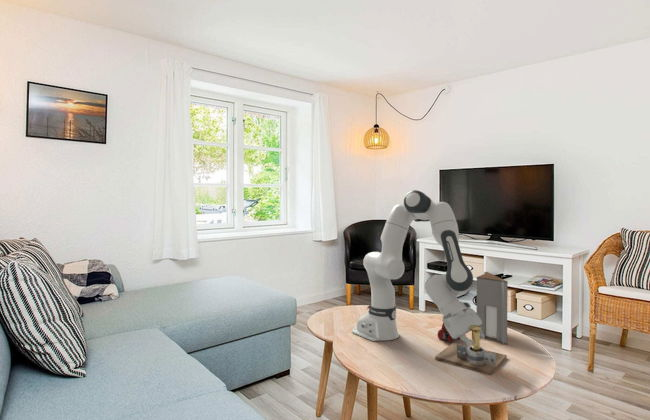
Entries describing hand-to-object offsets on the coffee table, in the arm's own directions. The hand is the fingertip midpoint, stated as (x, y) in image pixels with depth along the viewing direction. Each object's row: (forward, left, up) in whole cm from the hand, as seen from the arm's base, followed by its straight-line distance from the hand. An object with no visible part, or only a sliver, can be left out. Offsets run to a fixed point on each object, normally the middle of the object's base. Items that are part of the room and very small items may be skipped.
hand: (477, 341), depth 153 cm
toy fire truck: (-20, +20, -10) cm, 30 cm away
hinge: (-1, 0, -8) cm, 8 cm away
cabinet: (-8, +34, -10) cm, 36 cm away
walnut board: (-4, +5, -9) cm, 11 cm away
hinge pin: (-1, 0, -8) cm, 8 cm away
